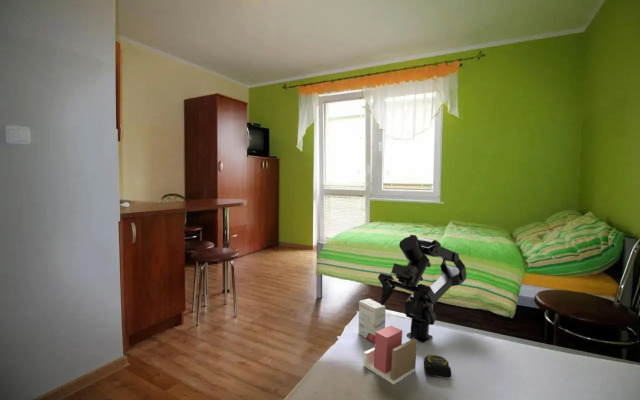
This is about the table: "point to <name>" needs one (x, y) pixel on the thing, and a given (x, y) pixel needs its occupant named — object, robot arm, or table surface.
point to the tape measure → (437, 366)
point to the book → (386, 347)
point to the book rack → (395, 361)
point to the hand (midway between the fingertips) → (393, 309)
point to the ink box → (371, 318)
